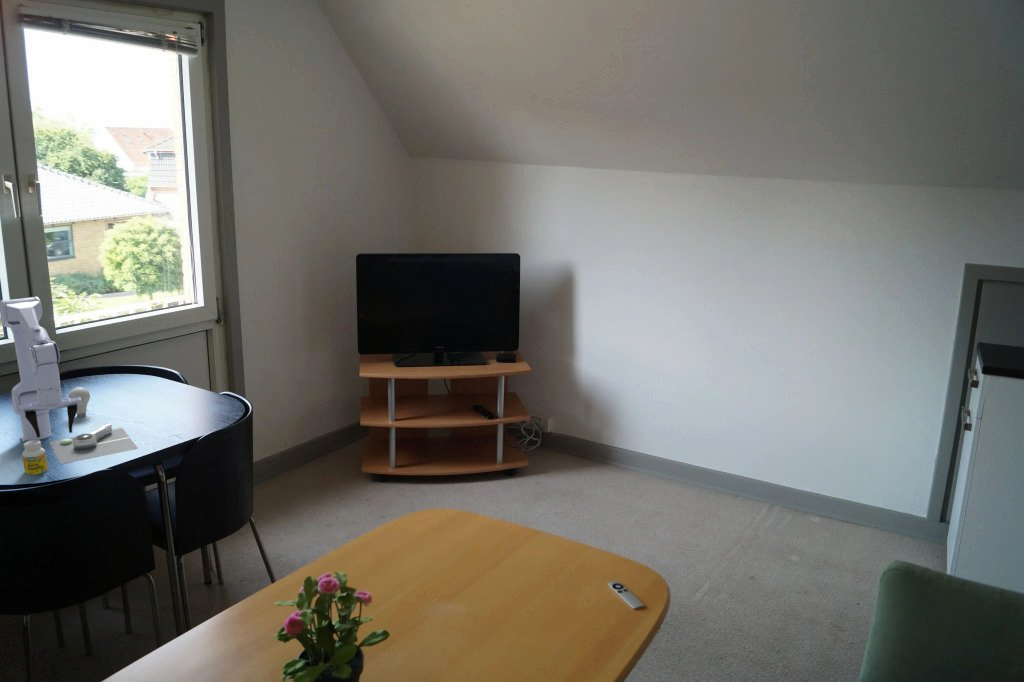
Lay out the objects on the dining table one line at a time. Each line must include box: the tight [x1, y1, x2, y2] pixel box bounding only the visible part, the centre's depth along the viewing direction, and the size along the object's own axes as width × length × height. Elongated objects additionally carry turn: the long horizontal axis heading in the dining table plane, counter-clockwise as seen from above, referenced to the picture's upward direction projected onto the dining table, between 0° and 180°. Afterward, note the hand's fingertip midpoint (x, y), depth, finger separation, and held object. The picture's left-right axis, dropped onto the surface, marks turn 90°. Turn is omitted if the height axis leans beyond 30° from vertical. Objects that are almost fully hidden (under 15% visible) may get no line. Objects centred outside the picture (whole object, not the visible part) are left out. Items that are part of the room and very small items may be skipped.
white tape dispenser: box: [73, 423, 113, 450], centre depth 236 cm, size 14×6×3 cm, turn 173°
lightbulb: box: [67, 386, 91, 418], centre depth 256 cm, size 6×6×11 cm
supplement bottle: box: [22, 440, 49, 476], centre depth 215 cm, size 5×5×10 cm
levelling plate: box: [48, 427, 139, 465], centre depth 233 cm, size 20×20×2 cm
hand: (54, 433), depth 219 cm, fingers open, 7 cm apart
